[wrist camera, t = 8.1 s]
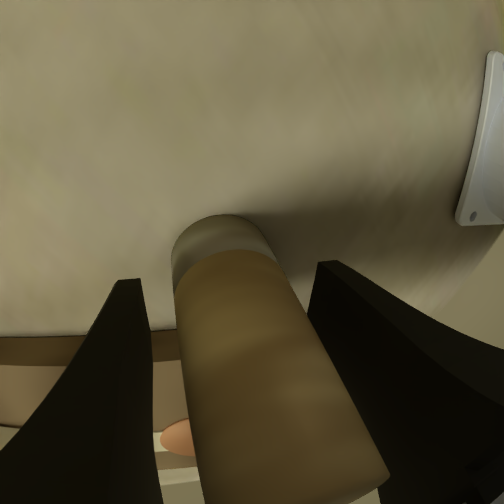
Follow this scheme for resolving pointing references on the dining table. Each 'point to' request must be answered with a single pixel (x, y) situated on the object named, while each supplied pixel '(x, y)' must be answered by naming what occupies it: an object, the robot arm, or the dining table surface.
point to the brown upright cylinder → (261, 379)
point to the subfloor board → (56, 360)
